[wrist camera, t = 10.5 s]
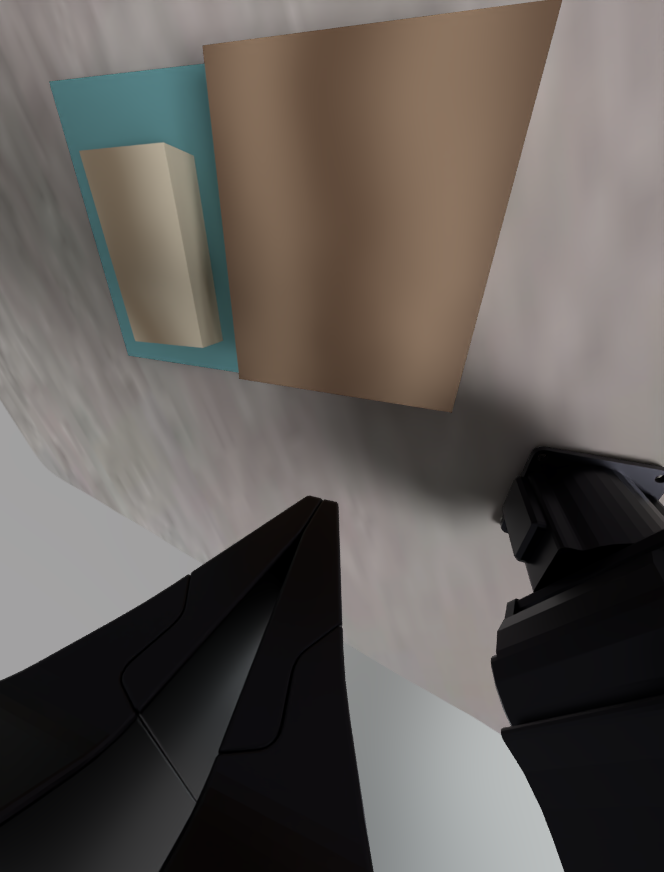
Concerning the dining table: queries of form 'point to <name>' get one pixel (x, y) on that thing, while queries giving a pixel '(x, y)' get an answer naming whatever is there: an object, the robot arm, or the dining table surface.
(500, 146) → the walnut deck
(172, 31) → the dining table surface
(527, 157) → the dining table surface
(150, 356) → the teal mat
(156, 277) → the birch tile
